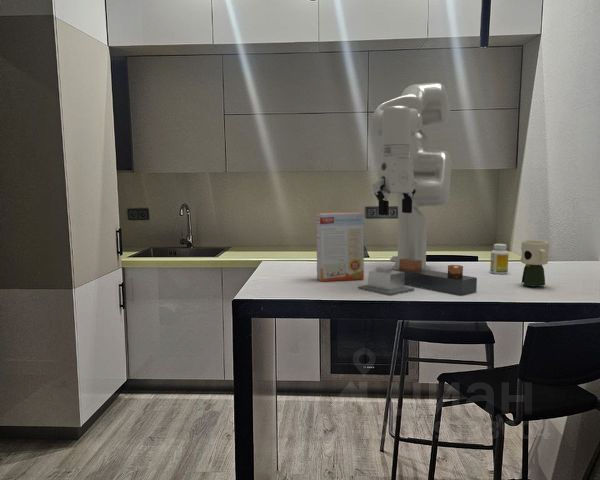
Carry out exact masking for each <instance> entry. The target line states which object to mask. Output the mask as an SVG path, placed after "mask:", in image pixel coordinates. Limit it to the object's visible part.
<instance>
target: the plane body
mask: <svg viewBox="0 0 600 480" xmlns="http://www.w3.org/2000/svg"><path fill="white" fill-rule="evenodd" d="M391 269H392V270H394V271H400V272H405V284H406V285H405V286H409V285H411V286H410V287H414V286H417V287H416V288H419V287H423V288H422V289H425V288H427V289H426V290H430V289H432V290H431V291H435V290H436V291H437V292H440V291H441V293H446V294H451V295H456V296H465V295H470V294H474V293H476V292H477V290H478V289H477V287H478V285H477V283H478V278H477V277H475V276H471V275H470V276H469V275H464V273H463V272H464V266H463V265H462V264H461V265H460V264H448V265H447V272H441V271H436V270H431V269H430V270H425V269H422V260H415V259H408V258H404V259H399V268H397V269H393V268H391Z"/></svg>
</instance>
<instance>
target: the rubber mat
mask: <svg viewBox="0 0 600 480" xmlns="http://www.w3.org/2000/svg"><path fill="white" fill-rule="evenodd" d="M358 288H359V290H362V289H364V290H363V291H367V290H369V291H368V292H372V291H373V292H372V293H376V292H377V293H376V294H381V293H382V295H385V294H386V296H390V295H391V296H394V294H396V295H399V294H398V293H401V294H404V293H403V292H405V293H408V291H410V292H414V291H415V287H414V288H413V287H410V286H404V288H403V289H398V290H393V291H387V290H382V289H377V288H373V287H369V284H365V285H360V286H358V287H357V289H358ZM413 290H414V291H413Z"/></svg>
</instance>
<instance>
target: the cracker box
mask: <svg viewBox="0 0 600 480" xmlns="http://www.w3.org/2000/svg"><path fill="white" fill-rule="evenodd" d="M315 215H316V216H315V217H316V218H315V220H316V221H315V222H316V225H315V226H316V230H315V231H316V235H315V236H316V279H317V280H319V282H336V281H356V280H358V281H359V280H364V277H365V274H364V273H365V264H364V263H365V255H364V252H365V246H364V245H365V244H364V243H365V239H364V238H365V232H364V231H365V230H364V229H365V227H364V226H365V225H364V224H365V223H364V221H365V220H364V219H365V218H364V215H365V214H364V212H359V211H356V212H355V211H353V212H351V211H350V212H321V213H320V212H319V213H318V212H317V213H316V214H315Z"/></svg>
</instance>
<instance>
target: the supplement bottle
mask: <svg viewBox="0 0 600 480" xmlns="http://www.w3.org/2000/svg"><path fill="white" fill-rule="evenodd" d="M507 249H508V248H507V244H505V243H494V244H493V249H492V250H491V252H490V271H489V272H490V273H491V274H494V275H507V274H508V271H509V251H508V250H507ZM506 273H507V274H506Z"/></svg>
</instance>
